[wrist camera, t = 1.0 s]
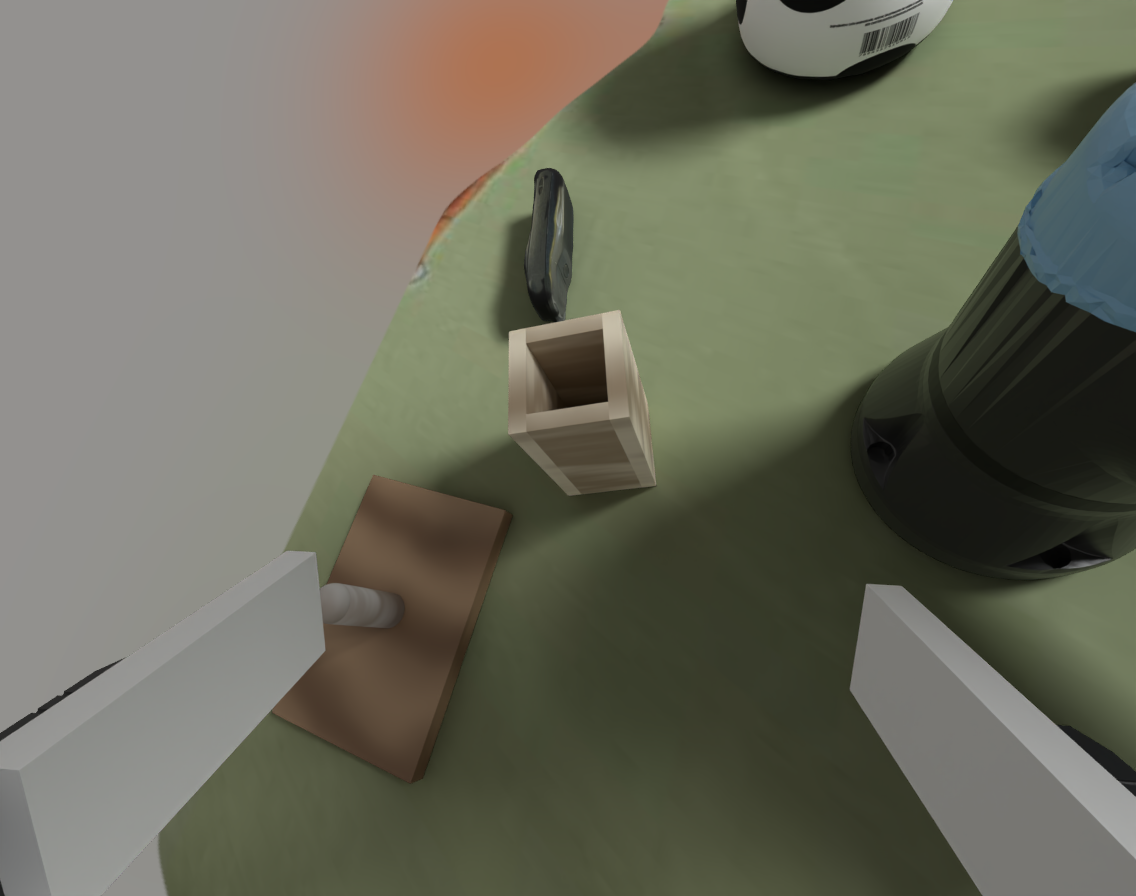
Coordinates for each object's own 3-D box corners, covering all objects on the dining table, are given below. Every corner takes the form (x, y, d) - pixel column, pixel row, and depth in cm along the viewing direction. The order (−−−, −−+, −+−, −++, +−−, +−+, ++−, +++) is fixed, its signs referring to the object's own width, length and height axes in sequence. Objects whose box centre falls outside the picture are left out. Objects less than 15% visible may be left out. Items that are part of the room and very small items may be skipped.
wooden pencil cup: (565, 416, 41) (509, 331, 30) (647, 404, 39) (619, 309, 28) (568, 495, 38) (508, 434, 27) (656, 485, 37) (629, 416, 26)
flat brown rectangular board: (384, 480, 43) (309, 442, 35) (512, 515, 39) (459, 480, 31) (287, 710, 38) (175, 725, 30) (422, 778, 34) (333, 816, 26)
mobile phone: (528, 166, 45) (518, 309, 39) (561, 158, 44) (557, 303, 38) (545, 211, 49) (539, 346, 43) (576, 204, 48) (574, 341, 43)
